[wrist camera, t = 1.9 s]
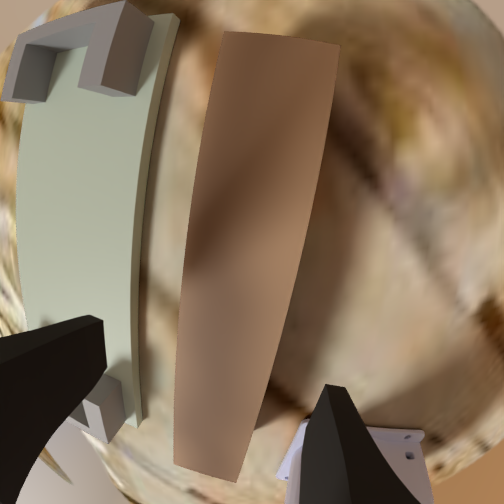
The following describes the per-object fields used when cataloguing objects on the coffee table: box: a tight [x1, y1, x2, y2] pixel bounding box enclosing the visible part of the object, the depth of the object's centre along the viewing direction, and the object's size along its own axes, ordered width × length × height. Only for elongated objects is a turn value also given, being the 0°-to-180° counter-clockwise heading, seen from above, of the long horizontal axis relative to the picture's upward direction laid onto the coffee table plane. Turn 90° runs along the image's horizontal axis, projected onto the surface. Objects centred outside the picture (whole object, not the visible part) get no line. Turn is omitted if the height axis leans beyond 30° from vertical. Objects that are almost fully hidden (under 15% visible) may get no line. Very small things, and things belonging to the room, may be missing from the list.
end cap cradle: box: [1, 0, 180, 444], centre depth 15 cm, size 11×28×4 cm, turn 169°
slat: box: [174, 31, 341, 483], centre depth 14 cm, size 4×22×5 cm, turn 169°
